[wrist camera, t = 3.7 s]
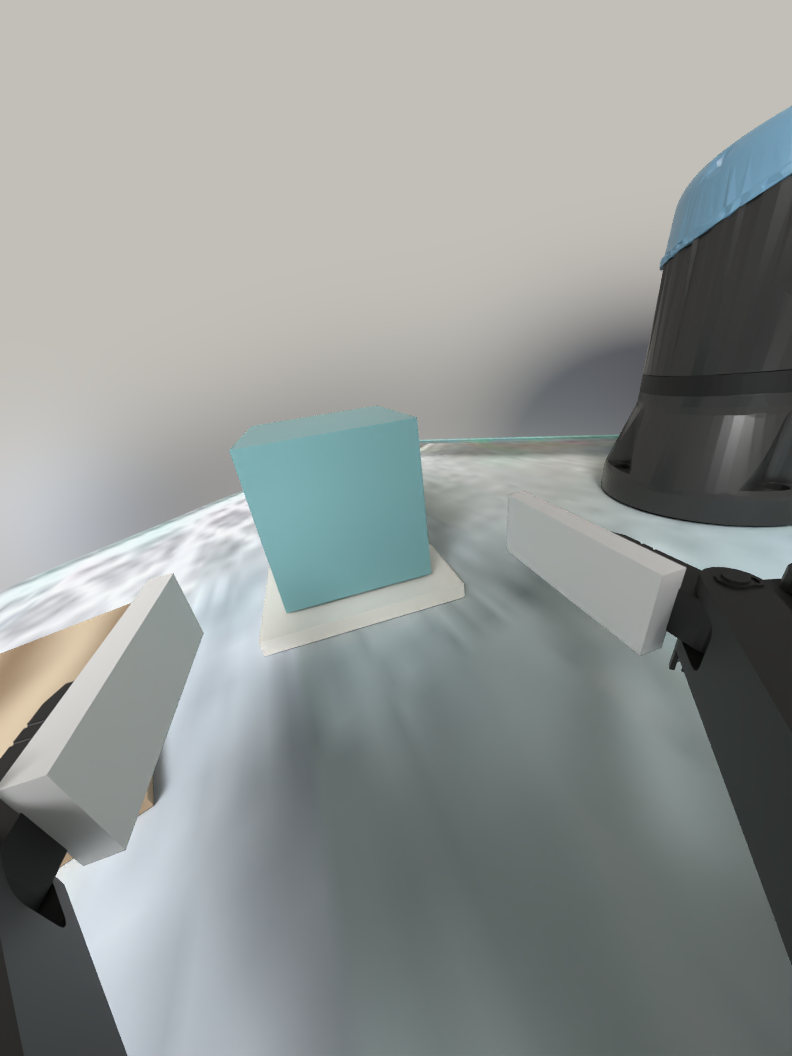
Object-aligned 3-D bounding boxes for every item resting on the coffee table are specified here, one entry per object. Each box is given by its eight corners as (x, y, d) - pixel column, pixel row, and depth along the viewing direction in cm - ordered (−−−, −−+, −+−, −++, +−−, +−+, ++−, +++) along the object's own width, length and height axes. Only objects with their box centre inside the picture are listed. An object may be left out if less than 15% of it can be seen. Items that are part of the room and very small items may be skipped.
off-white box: (406, 523, 31) (392, 412, 26) (464, 597, 20) (457, 432, 16) (275, 554, 28) (236, 438, 24) (264, 656, 18) (191, 482, 14)
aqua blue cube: (393, 520, 29) (377, 405, 24) (431, 573, 21) (416, 417, 17) (288, 545, 27) (251, 426, 23) (286, 613, 19) (229, 450, 15)
